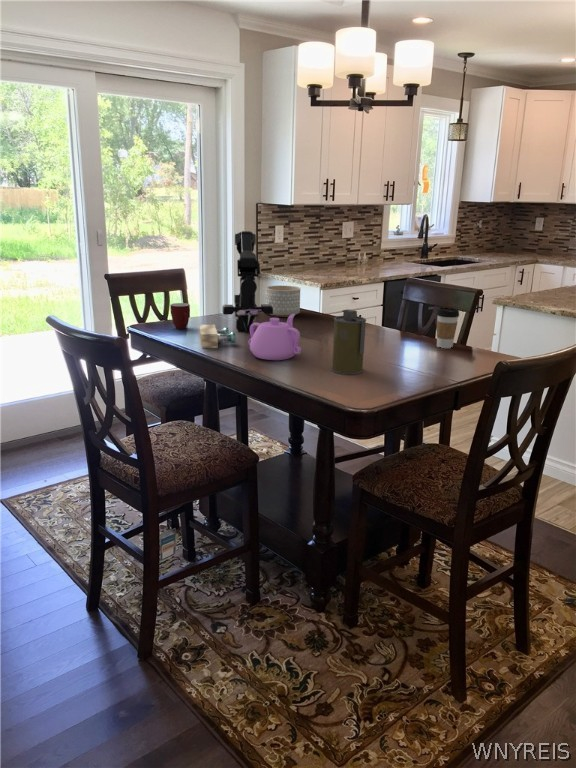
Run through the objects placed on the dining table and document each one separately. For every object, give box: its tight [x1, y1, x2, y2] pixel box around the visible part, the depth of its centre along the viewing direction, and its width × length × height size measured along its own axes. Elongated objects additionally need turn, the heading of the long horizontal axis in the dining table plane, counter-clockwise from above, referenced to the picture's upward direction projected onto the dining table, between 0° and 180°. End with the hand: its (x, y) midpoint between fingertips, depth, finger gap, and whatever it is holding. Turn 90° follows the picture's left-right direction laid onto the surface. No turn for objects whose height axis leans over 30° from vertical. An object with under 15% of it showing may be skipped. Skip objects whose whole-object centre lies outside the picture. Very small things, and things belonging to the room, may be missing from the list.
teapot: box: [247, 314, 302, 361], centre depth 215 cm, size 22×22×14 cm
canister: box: [331, 308, 367, 376], centre depth 197 cm, size 11×10×20 cm
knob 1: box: [216, 327, 230, 334], centre depth 236 cm, size 8×4×4 cm, turn 100°
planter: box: [265, 285, 301, 318], centre depth 288 cm, size 16×16×13 cm
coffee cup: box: [436, 306, 460, 349], centre depth 232 cm, size 8×8×15 cm
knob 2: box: [218, 331, 237, 344], centre depth 229 cm, size 10×4×4 cm, turn 100°
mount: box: [198, 324, 219, 349], centre depth 231 cm, size 6×17×5 cm, turn 10°
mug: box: [169, 302, 191, 330], centre depth 253 cm, size 10×8×10 cm
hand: (247, 331), depth 230 cm, fingers closed
